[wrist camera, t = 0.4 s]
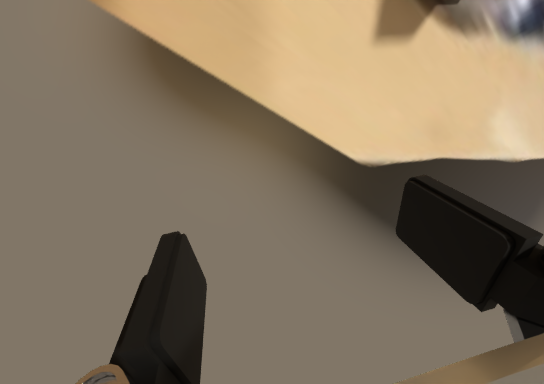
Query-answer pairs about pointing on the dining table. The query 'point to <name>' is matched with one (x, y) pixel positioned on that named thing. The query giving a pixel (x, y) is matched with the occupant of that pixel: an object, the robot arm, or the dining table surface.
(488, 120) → the dining table surface
